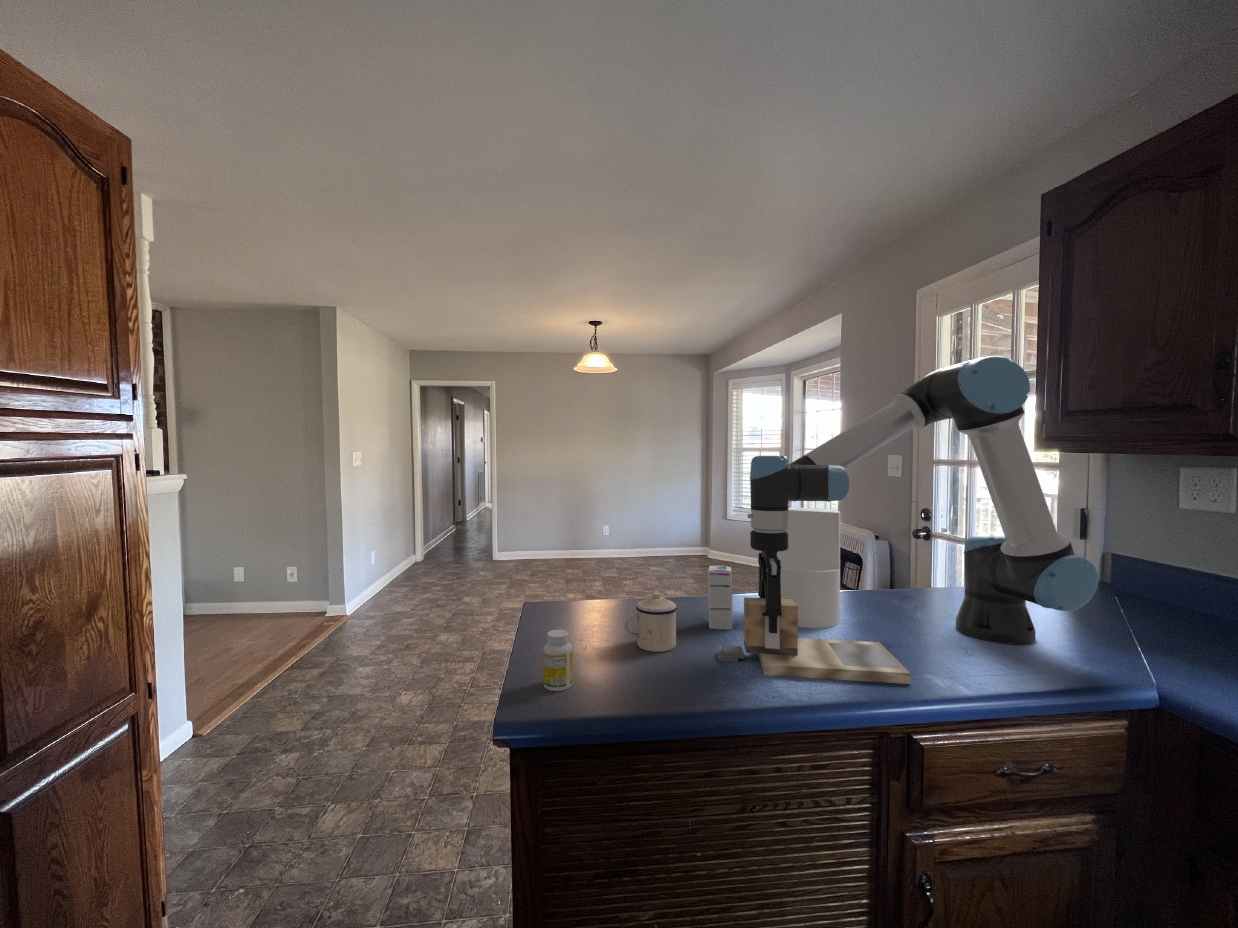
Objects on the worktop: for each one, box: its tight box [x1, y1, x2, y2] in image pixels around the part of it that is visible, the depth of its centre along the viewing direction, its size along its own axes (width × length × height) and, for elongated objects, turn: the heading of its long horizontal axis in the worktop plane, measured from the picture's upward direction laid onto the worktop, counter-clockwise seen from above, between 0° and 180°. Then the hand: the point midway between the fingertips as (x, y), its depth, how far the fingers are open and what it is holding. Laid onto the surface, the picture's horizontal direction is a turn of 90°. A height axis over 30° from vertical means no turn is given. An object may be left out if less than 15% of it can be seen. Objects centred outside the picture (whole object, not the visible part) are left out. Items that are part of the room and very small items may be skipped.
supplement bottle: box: [542, 629, 573, 692], centre depth 92 cm, size 5×5×10 cm
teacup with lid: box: [623, 591, 678, 653], centre depth 111 cm, size 12×9×12 cm
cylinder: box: [777, 507, 841, 630], centre depth 131 cm, size 17×17×28 cm
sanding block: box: [743, 596, 799, 656], centre depth 104 cm, size 10×5×10 cm, turn 81°
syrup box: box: [707, 565, 733, 631], centre depth 125 cm, size 6×6×14 cm
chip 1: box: [716, 649, 739, 662], centre depth 105 cm, size 4×4×1 cm
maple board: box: [757, 637, 911, 685], centre depth 102 cm, size 26×16×2 cm, turn 81°
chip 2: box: [721, 644, 745, 660], centre depth 105 cm, size 4×4×1 cm
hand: (769, 640), depth 104 cm, fingers open, 8 cm apart
